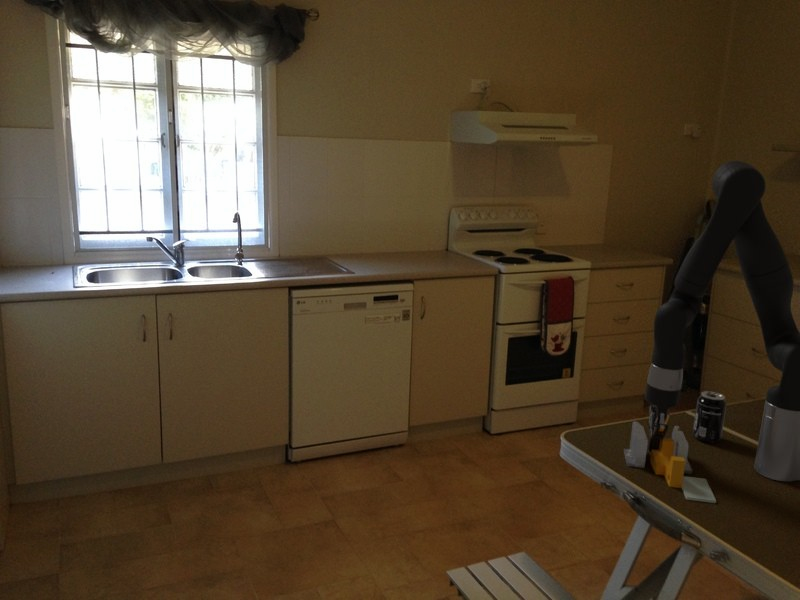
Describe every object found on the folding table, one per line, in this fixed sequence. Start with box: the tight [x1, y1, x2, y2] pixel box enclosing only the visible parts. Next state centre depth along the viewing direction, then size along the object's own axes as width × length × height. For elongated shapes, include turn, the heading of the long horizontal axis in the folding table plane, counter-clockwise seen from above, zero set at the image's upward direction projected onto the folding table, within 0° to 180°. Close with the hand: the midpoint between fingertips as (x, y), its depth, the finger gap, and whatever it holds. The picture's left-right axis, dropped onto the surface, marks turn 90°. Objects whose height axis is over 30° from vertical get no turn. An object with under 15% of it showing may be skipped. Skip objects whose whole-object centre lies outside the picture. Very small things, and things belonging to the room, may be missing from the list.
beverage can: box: [692, 390, 727, 444], centre depth 184 cm, size 7×7×12 cm
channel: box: [623, 420, 693, 475], centre depth 171 cm, size 14×11×7 cm
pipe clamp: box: [649, 437, 685, 489], centre depth 164 cm, size 12×4×6 cm, turn 173°
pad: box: [681, 475, 717, 504], centre depth 158 cm, size 6×10×1 cm, turn 169°
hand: (653, 450), depth 172 cm, fingers closed
